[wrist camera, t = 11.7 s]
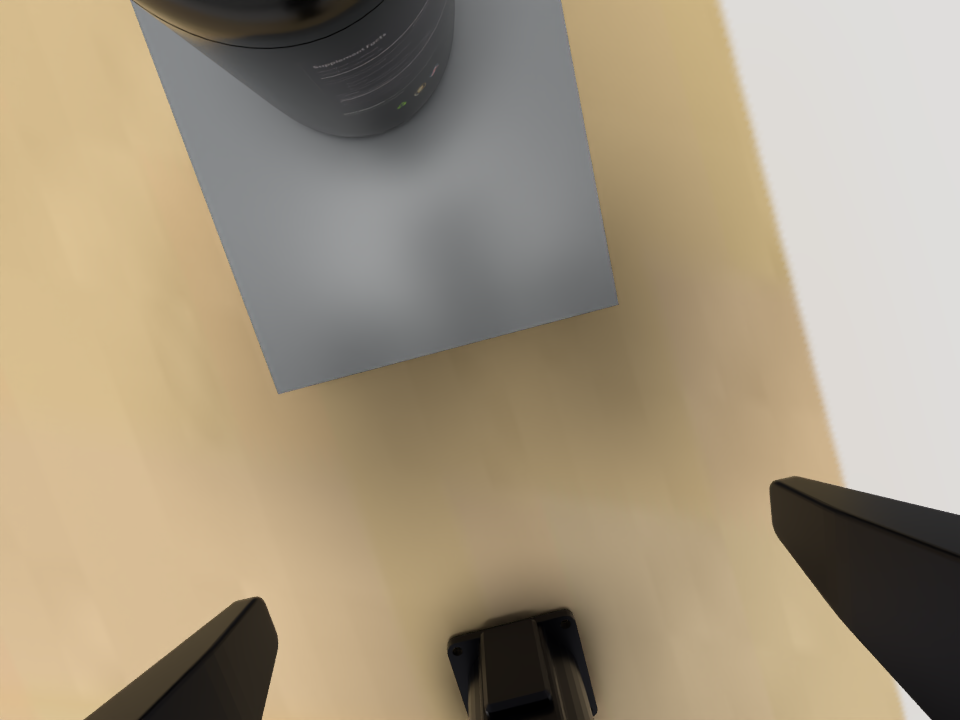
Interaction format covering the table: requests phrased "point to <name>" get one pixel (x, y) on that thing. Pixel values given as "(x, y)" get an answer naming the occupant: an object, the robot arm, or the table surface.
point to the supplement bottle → (324, 54)
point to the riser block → (403, 201)
